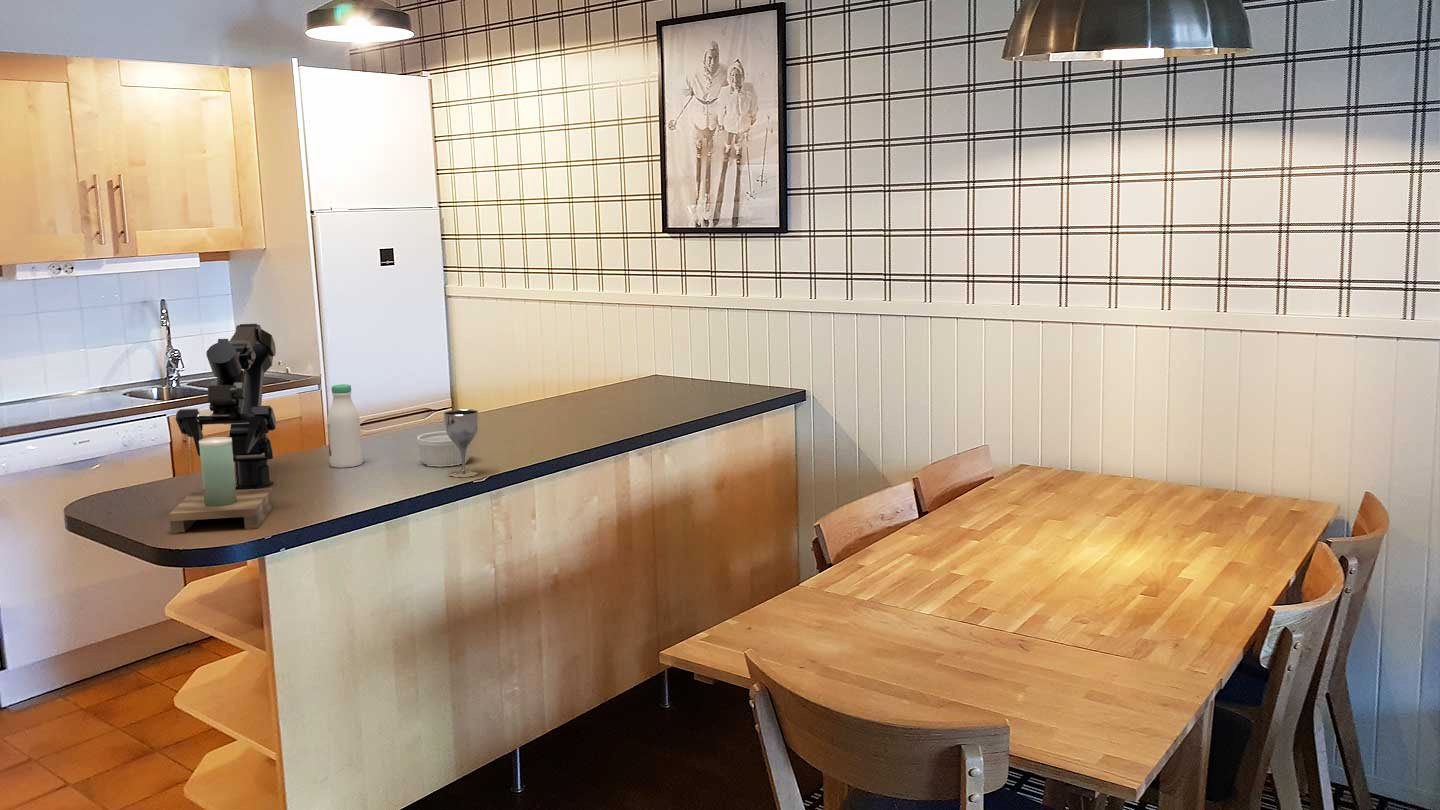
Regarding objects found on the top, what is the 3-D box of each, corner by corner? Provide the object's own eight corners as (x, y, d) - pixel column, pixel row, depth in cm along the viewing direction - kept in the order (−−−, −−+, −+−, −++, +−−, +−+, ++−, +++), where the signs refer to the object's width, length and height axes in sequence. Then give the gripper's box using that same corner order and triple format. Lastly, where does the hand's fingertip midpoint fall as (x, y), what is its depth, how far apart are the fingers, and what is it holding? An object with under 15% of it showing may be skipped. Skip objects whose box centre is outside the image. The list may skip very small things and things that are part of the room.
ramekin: (458, 469, 282) (457, 441, 281) (408, 467, 285) (407, 439, 283) (481, 458, 294) (480, 431, 293) (433, 456, 297) (432, 430, 296)
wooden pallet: (193, 511, 244) (191, 492, 244) (273, 506, 247) (272, 488, 247) (171, 533, 227) (169, 513, 226) (257, 528, 230) (256, 508, 229)
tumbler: (200, 502, 235) (194, 439, 233) (230, 497, 239) (225, 435, 237) (210, 508, 230) (204, 443, 228) (241, 502, 234) (236, 439, 232)
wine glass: (473, 478, 271) (469, 415, 269) (441, 477, 273) (437, 414, 271) (486, 471, 279) (483, 409, 277) (455, 470, 281) (452, 409, 278)
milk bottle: (369, 463, 290) (364, 383, 287) (347, 469, 283) (342, 388, 280) (345, 460, 293) (340, 382, 290) (323, 466, 286) (317, 386, 283)
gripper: (173, 371, 239) (164, 433, 230) (269, 367, 243) (263, 429, 234) (186, 402, 248) (178, 464, 239) (278, 398, 252) (273, 459, 243)
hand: (223, 453), depth 239 cm, fingers open, 9 cm apart
